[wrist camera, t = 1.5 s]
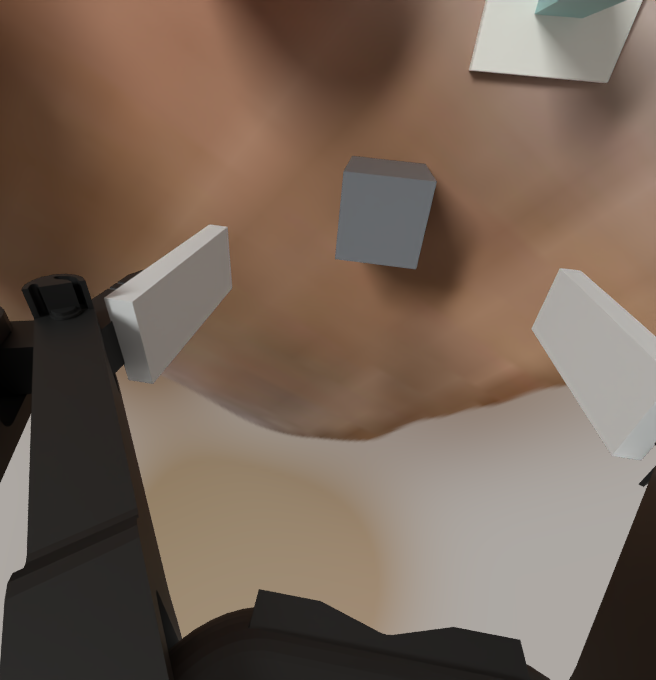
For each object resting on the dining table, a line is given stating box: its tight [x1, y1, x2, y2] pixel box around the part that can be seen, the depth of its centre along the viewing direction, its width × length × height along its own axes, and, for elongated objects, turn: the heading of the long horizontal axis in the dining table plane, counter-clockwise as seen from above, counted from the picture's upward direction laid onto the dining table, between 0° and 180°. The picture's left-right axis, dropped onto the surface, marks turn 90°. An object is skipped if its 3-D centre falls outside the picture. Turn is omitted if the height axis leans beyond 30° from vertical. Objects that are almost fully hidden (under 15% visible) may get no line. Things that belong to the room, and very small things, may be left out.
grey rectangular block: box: [335, 156, 437, 269], centre depth 24 cm, size 5×5×7 cm
